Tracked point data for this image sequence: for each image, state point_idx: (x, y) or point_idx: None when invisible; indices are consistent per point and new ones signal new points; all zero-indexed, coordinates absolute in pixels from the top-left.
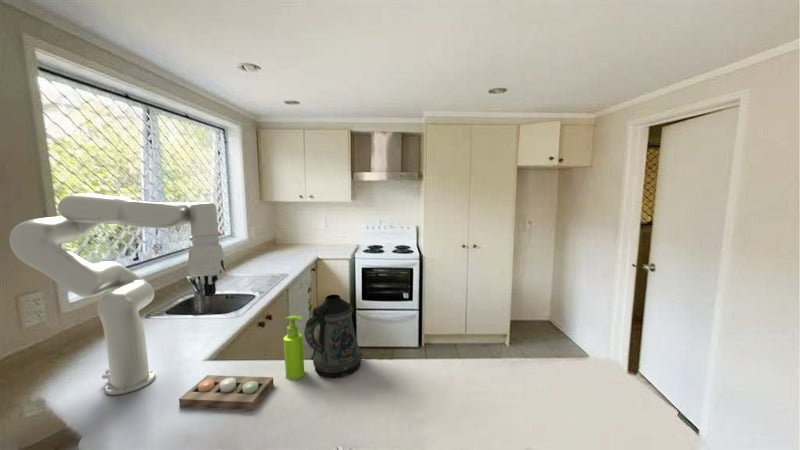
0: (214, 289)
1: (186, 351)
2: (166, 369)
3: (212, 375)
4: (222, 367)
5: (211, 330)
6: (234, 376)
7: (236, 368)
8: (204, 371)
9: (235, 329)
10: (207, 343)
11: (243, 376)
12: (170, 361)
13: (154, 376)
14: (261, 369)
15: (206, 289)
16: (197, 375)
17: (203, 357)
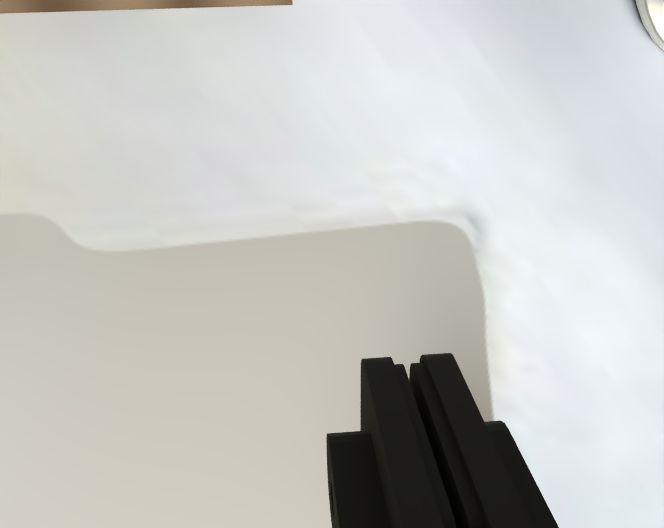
0: (333, 511)
1: (630, 288)
2: (629, 109)
3: (255, 2)
4: (316, 161)
5: (622, 484)
6: (101, 4)
7: (225, 160)
8: (394, 111)
9: None
10: (564, 372)
11: (41, 10)
12: (657, 187)
13: (643, 9)
14: (67, 165)
15: (440, 445)
16: (407, 68)
17: (496, 244)
